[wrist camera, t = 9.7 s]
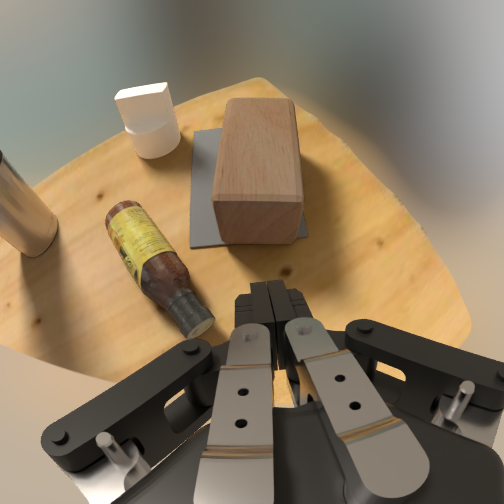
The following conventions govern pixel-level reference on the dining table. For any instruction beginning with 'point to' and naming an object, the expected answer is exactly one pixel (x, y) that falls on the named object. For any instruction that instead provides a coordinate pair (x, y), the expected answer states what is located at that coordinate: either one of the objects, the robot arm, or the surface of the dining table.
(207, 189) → the mat
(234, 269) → the dining table surface
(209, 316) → the sauce bottle
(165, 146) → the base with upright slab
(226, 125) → the block
